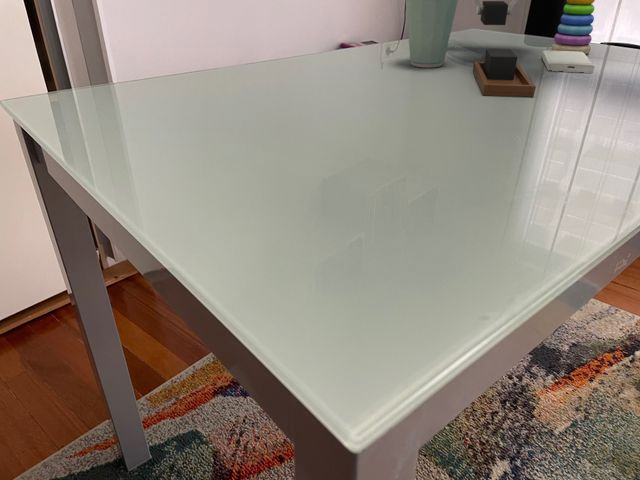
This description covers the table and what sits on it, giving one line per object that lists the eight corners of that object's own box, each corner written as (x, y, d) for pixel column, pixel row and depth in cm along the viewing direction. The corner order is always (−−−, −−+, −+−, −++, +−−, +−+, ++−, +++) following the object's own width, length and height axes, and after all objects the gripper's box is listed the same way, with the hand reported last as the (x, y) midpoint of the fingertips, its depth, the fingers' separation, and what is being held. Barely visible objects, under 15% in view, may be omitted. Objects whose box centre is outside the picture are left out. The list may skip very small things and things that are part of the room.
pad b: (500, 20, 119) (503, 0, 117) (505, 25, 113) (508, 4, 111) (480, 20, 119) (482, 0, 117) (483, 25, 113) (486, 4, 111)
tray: (515, 72, 101) (517, 63, 100) (533, 97, 86) (535, 86, 85) (472, 71, 102) (474, 61, 101) (482, 95, 87) (484, 84, 86)
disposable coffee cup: (441, 73, 101) (450, -14, 93) (390, 66, 106) (395, -16, 98) (459, 62, 109) (469, -19, 101) (411, 56, 113) (417, -21, 106)
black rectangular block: (507, 71, 99) (511, 49, 97) (513, 80, 94) (517, 56, 91) (482, 70, 100) (486, 48, 98) (487, 79, 94) (491, 56, 92)
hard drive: (542, 50, 111) (549, 62, 101) (584, 51, 110) (595, 64, 99) (541, 58, 112) (547, 71, 102) (582, 59, 110) (592, 73, 100)
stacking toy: (594, 52, 117) (618, -44, 107) (581, 57, 112) (605, -42, 102) (559, 47, 121) (579, -45, 112) (544, 52, 116) (564, -43, 107)
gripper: (453, -57, 107) (446, 16, 114) (559, -59, 104) (544, 17, 111) (451, -58, 112) (444, 12, 119) (551, -59, 109) (538, 12, 116)
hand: (493, 14), depth 115 cm, fingers closed on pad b, 4 cm apart
